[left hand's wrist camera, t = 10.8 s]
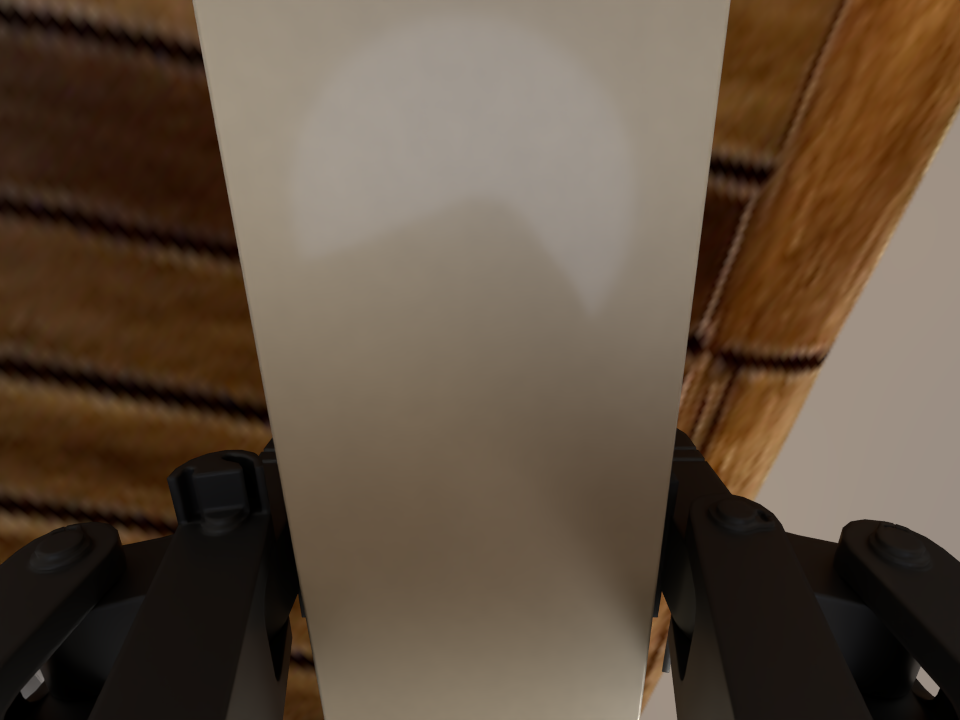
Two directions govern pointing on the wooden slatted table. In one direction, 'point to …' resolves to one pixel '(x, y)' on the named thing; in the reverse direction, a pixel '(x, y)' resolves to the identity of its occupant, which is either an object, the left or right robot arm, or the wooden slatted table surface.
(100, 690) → the left robot arm
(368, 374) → the ash beam
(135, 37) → the wooden slatted table surface
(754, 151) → the wooden slatted table surface
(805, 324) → the wooden slatted table surface
